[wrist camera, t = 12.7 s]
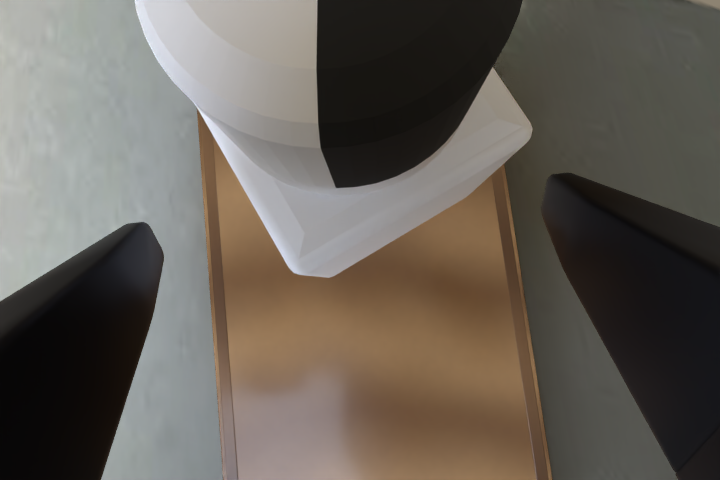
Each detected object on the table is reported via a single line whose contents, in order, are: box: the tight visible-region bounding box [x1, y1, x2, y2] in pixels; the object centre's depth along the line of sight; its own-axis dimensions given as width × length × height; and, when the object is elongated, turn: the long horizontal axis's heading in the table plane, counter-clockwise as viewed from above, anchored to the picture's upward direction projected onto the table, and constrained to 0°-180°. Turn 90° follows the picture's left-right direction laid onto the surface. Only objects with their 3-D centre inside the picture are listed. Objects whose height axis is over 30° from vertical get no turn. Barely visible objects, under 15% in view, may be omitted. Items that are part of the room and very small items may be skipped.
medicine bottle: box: [135, 0, 533, 278], centre depth 11 cm, size 7×7×12 cm
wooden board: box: [197, 108, 552, 480], centre depth 17 cm, size 20×13×1 cm, turn 6°
